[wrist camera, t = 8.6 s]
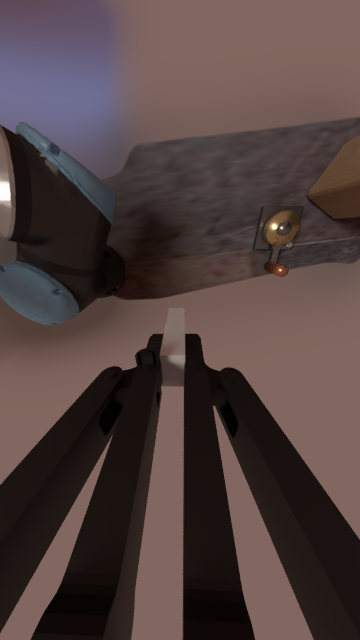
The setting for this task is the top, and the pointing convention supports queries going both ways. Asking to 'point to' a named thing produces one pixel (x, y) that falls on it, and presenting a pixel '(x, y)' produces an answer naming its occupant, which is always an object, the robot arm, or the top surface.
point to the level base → (264, 216)
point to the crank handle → (279, 238)
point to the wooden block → (340, 183)
